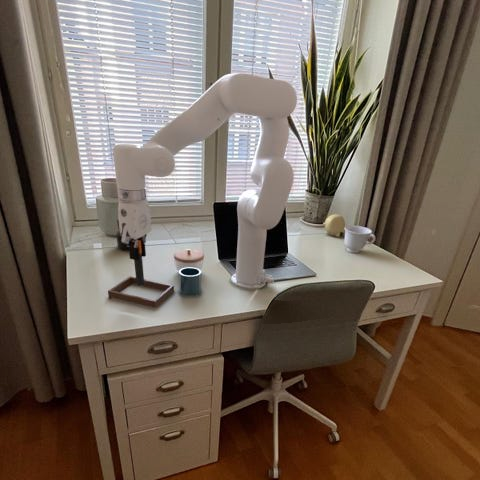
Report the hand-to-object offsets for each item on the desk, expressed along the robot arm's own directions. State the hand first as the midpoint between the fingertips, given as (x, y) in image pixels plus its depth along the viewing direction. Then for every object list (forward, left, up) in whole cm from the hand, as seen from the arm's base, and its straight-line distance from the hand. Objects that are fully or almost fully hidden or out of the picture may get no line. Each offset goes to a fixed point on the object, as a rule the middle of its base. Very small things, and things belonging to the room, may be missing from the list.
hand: (137, 257), depth 105 cm
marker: (0, 0, -9) cm, 9 cm away
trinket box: (-7, -22, -13) cm, 26 cm away
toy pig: (-53, -97, -13) cm, 111 cm away
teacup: (-65, -77, -13) cm, 101 cm away
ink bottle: (+27, -35, -13) cm, 46 cm away
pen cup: (-13, -9, -13) cm, 21 cm away
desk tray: (0, 0, -13) cm, 13 cm away
